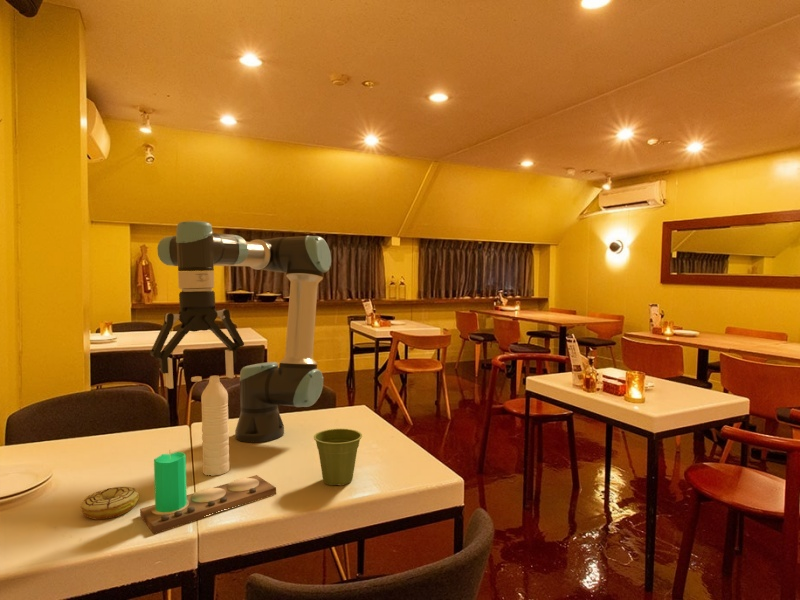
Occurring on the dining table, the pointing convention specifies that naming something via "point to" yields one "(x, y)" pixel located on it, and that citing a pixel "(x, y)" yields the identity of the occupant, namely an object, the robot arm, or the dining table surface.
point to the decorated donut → (109, 502)
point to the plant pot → (337, 454)
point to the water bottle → (214, 427)
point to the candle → (170, 482)
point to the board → (208, 503)
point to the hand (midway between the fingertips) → (201, 382)
